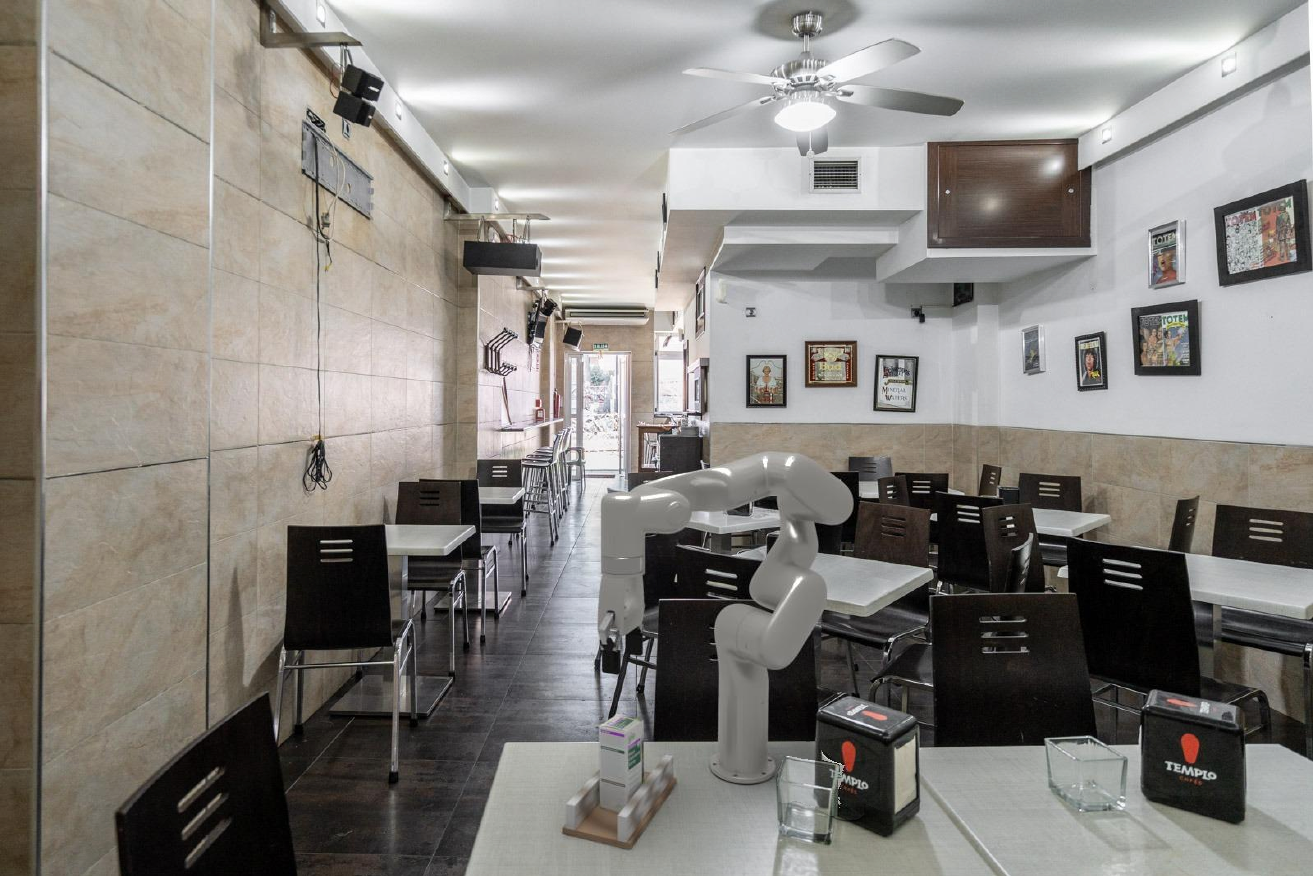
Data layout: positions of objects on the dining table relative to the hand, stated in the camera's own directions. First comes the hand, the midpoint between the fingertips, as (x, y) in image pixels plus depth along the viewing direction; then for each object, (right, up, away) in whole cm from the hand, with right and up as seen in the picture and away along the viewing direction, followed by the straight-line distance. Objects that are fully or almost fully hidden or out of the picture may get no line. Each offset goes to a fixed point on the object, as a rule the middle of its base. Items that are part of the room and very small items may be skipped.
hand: (623, 663), depth 123 cm
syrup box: (0, -25, 0) cm, 25 cm away
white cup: (+38, -26, +1) cm, 46 cm away
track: (0, -25, +2) cm, 25 cm away
